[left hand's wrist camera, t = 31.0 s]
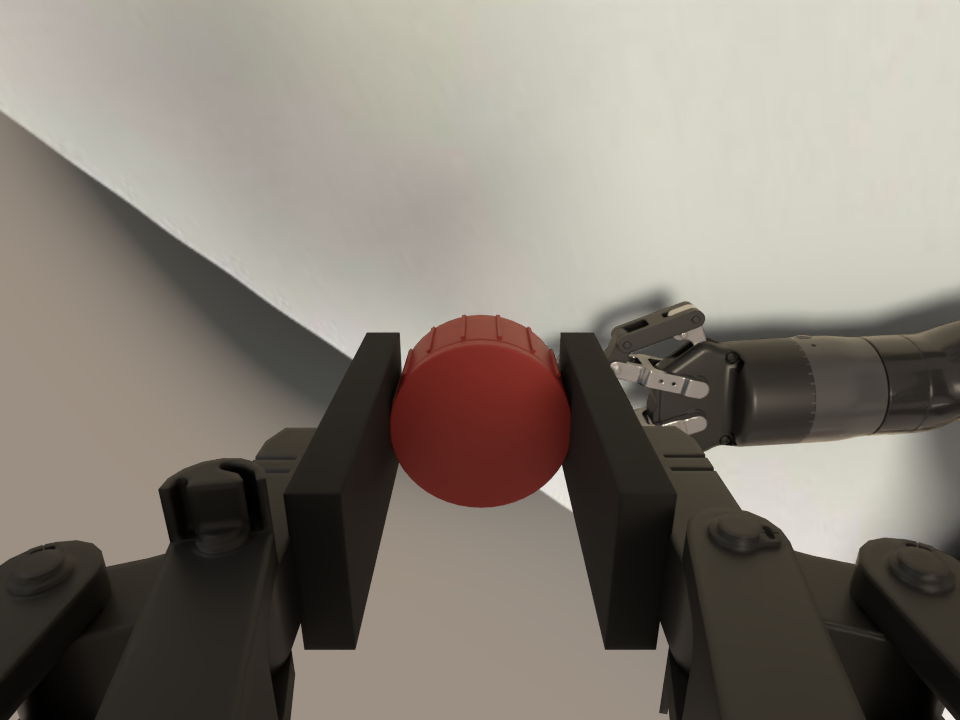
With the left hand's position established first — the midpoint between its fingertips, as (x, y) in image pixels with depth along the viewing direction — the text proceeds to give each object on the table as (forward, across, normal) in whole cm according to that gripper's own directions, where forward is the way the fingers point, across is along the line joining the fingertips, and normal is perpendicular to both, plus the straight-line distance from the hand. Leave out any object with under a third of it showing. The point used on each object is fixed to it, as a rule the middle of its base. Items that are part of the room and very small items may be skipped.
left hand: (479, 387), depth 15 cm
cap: (-2, 0, 0) cm, 2 cm away
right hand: (+27, +5, -13) cm, 30 cm away
